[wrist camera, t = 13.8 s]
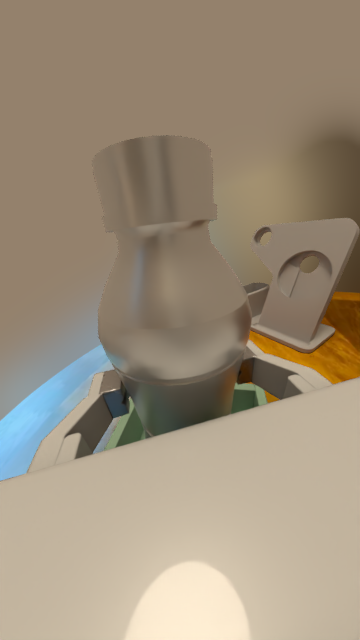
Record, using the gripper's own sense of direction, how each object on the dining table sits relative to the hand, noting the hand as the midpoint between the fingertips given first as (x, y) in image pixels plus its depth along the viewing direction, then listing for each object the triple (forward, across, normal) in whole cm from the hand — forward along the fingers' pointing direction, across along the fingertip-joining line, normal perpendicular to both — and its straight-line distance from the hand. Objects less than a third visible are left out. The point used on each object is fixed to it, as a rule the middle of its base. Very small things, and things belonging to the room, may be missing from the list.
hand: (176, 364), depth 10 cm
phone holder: (+19, -23, +12) cm, 32 cm away
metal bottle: (-1, 0, +11) cm, 11 cm away
